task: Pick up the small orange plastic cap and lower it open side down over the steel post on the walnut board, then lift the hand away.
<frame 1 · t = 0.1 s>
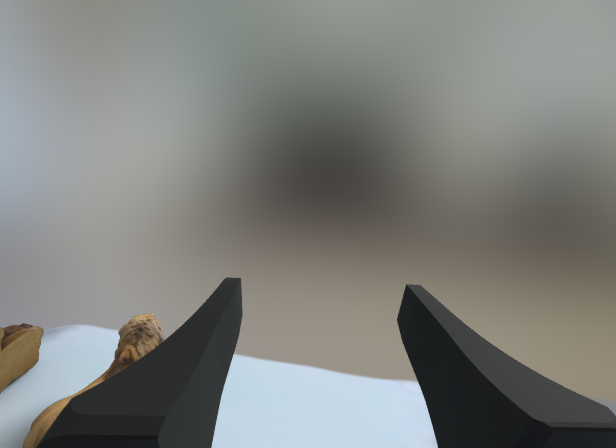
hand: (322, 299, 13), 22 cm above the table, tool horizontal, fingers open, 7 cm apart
lion figurine: (112, 427, 29), on the table
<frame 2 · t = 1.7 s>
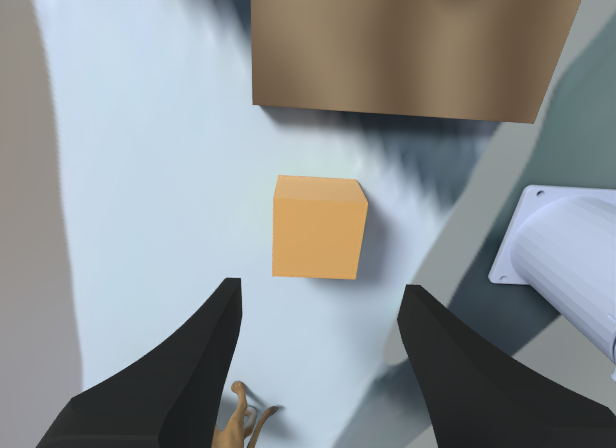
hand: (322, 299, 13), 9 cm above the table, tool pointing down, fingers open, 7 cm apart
orange cap: (314, 212, 21), on the table
lion figurine: (202, 385, 30), on the table
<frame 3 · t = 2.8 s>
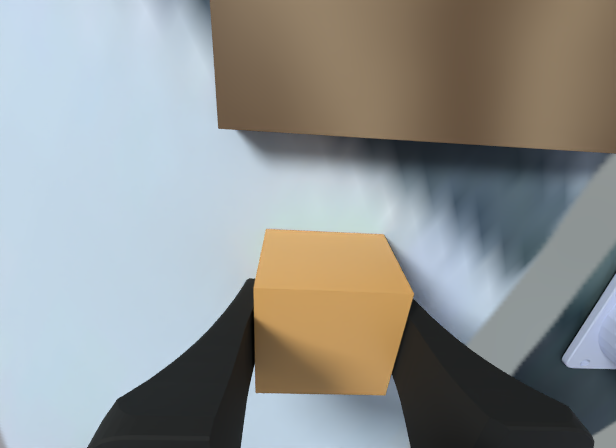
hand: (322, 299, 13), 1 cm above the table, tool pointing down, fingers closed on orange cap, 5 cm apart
orange cap: (320, 279, 14), on the table, touching gripper
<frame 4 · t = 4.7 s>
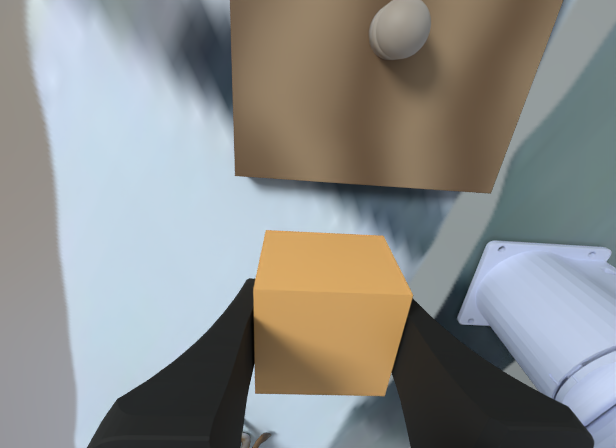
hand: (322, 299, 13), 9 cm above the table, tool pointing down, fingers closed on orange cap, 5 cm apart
orange cap: (320, 280, 15), point 7 cm above the table, touching gripper
walnut board: (385, 35, 16), on the table
when the fingers open (4 cm above the table, at t = 6.8 s): orange cap stays where it is, resting on walnut board.
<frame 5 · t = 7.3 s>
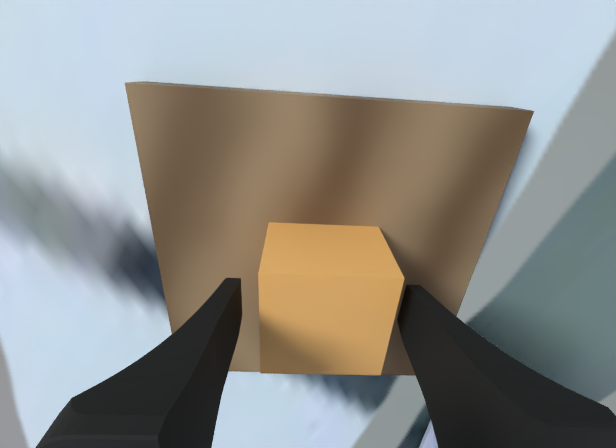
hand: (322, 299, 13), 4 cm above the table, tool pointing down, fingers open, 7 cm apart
orange cap: (320, 269, 15), point 1 cm above the table, touching walnut board
walnut board: (317, 251, 17), on the table
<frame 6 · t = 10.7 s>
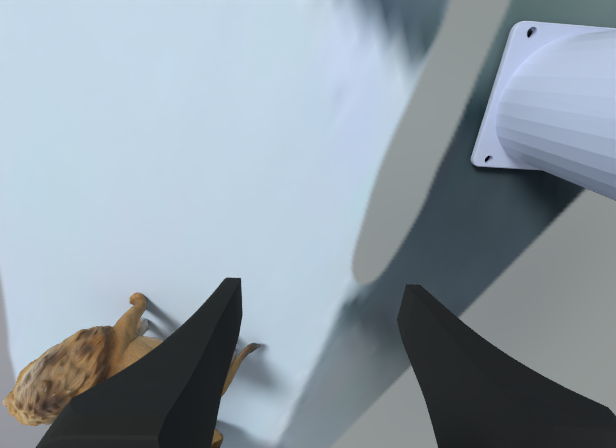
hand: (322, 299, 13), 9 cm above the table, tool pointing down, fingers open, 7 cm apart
lion figurine: (172, 322, 26), on the table
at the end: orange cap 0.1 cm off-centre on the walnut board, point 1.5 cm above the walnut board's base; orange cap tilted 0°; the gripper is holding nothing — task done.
